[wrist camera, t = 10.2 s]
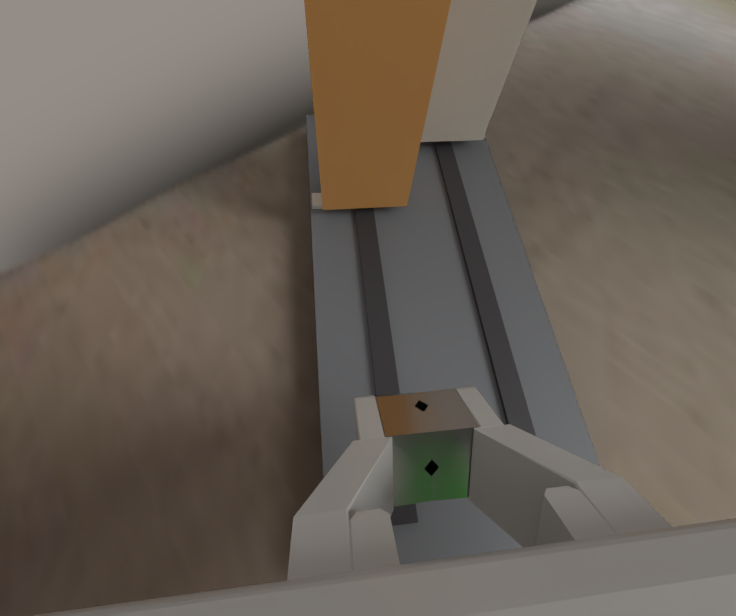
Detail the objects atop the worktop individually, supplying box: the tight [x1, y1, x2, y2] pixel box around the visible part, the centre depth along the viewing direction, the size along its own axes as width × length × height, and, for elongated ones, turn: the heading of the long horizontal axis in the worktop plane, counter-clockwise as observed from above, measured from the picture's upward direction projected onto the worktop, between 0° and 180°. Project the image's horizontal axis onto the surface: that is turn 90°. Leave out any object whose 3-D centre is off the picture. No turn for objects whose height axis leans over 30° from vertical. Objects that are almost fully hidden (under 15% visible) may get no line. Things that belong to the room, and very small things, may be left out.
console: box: [306, 115, 600, 564], centre depth 17 cm, size 22×10×1 cm, turn 6°
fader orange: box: [304, 0, 451, 210], centre depth 13 cm, size 2×4×10 cm, turn 96°
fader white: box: [421, 0, 537, 142], centre depth 15 cm, size 2×4×10 cm, turn 96°
